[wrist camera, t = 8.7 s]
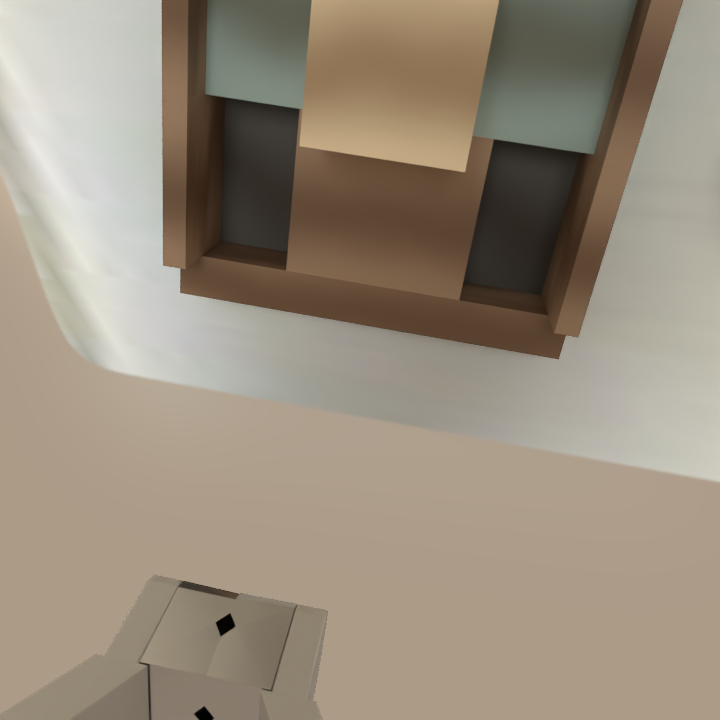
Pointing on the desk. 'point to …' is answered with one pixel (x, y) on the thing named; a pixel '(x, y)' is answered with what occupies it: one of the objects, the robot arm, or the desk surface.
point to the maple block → (396, 78)
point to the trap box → (407, 174)
